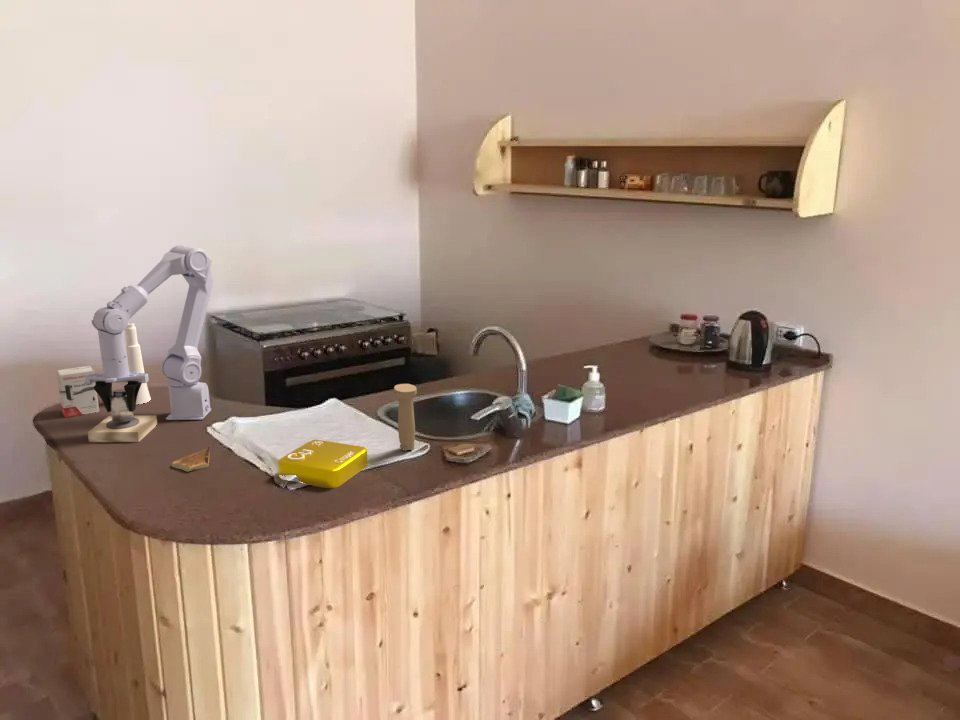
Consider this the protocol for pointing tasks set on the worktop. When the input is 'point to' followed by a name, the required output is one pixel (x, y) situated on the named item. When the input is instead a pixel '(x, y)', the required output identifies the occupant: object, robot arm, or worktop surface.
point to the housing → (120, 407)
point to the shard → (193, 461)
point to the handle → (406, 415)
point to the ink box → (77, 392)
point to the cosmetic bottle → (136, 361)
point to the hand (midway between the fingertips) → (121, 410)
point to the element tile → (324, 463)
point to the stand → (122, 429)
